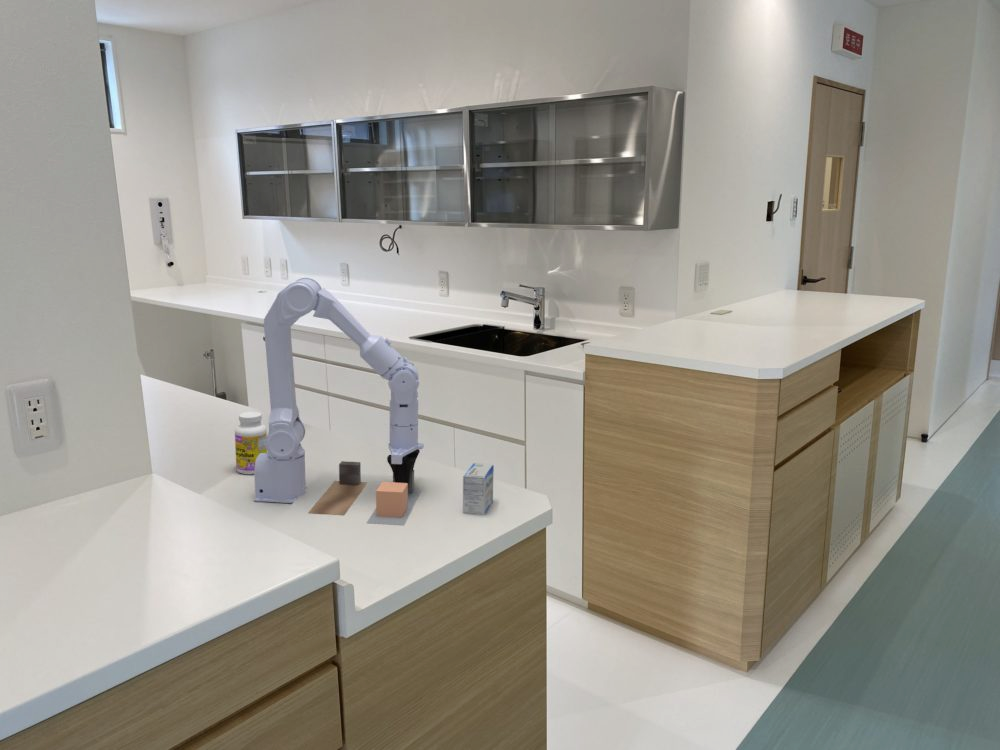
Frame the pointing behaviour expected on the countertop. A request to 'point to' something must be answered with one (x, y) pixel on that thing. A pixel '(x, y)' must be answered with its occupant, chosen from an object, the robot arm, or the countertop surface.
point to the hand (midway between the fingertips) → (403, 486)
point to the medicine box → (478, 489)
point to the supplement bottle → (249, 441)
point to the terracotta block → (392, 499)
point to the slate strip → (411, 501)
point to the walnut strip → (341, 491)
